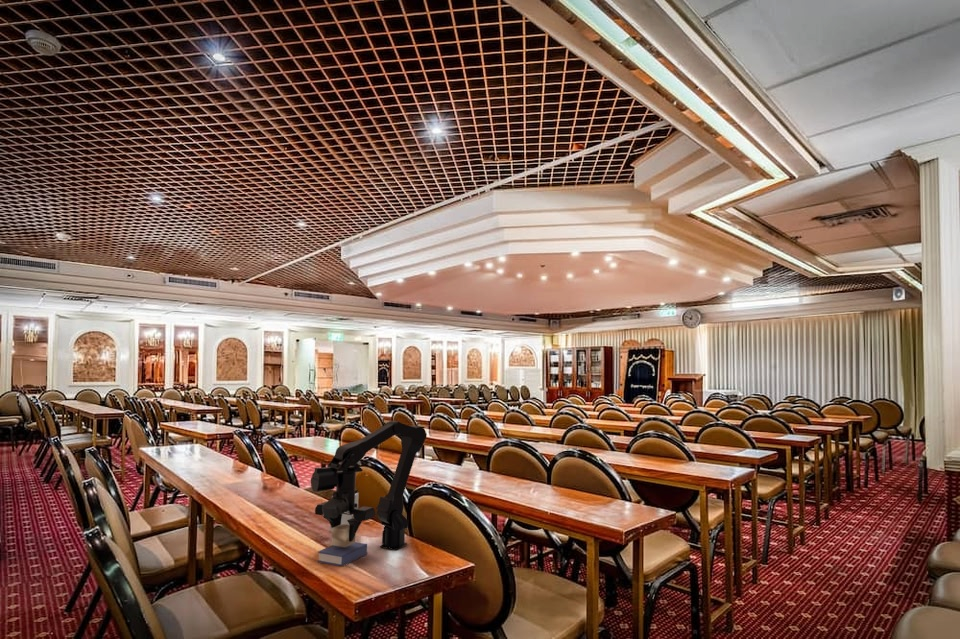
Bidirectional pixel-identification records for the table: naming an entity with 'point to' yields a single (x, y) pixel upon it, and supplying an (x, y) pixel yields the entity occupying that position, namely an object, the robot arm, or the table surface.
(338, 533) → the beech block
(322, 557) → the navy book
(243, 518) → the table surface
